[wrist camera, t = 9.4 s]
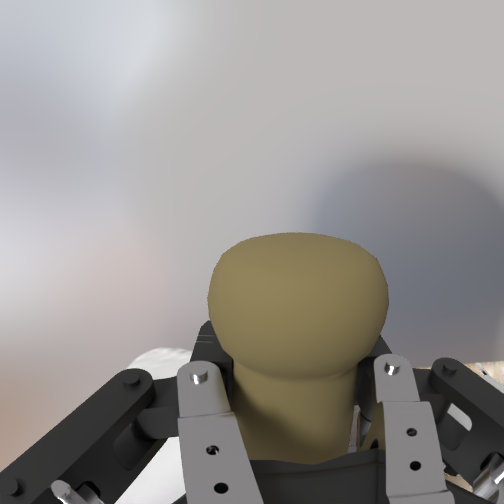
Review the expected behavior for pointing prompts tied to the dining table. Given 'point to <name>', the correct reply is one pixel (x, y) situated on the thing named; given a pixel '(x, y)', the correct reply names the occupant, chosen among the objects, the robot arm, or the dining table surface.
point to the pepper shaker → (296, 339)
